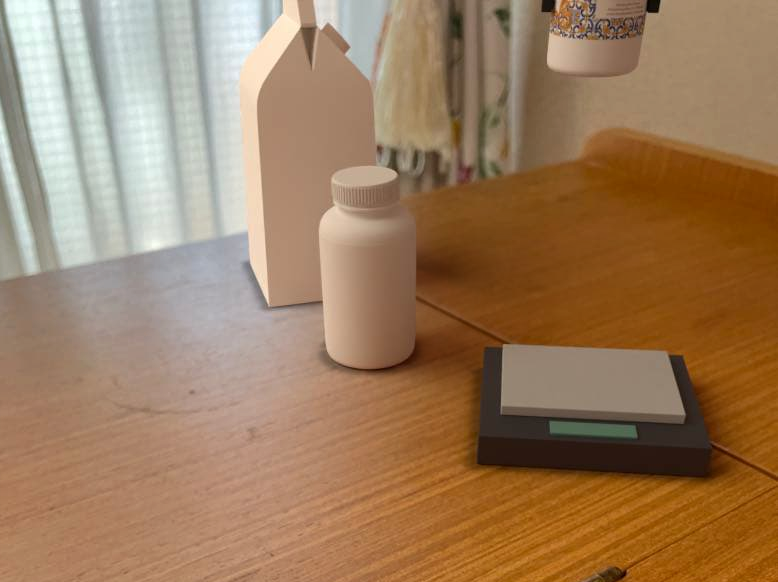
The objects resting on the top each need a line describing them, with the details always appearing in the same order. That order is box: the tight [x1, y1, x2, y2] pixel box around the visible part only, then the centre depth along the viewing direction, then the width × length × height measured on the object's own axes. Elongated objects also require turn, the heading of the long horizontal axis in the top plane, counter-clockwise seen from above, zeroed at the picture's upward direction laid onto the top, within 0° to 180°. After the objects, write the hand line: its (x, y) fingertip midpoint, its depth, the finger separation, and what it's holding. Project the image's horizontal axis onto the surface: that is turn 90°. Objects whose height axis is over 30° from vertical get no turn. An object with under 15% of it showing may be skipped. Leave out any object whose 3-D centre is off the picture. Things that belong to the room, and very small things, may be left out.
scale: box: [476, 343, 713, 478], centre depth 66 cm, size 16×14×3 cm
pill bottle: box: [319, 165, 417, 370], centre depth 72 cm, size 8×8×15 cm
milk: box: [238, 0, 378, 308], centre depth 82 cm, size 12×12×26 cm
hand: (598, 9), depth 65 cm, fingers closed on bath foam, 7 cm apart
